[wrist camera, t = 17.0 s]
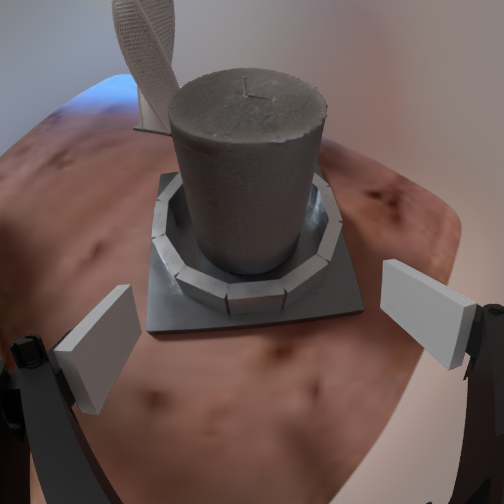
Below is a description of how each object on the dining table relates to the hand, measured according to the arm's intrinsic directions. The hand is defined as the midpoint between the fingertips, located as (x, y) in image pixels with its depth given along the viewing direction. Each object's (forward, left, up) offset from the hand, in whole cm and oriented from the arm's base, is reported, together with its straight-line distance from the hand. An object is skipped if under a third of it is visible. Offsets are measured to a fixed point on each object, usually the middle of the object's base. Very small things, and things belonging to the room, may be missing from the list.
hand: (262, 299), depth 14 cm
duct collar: (0, +11, -10) cm, 14 cm away
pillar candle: (0, +11, -9) cm, 14 cm away
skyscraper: (-10, +33, -10) cm, 36 cm away
